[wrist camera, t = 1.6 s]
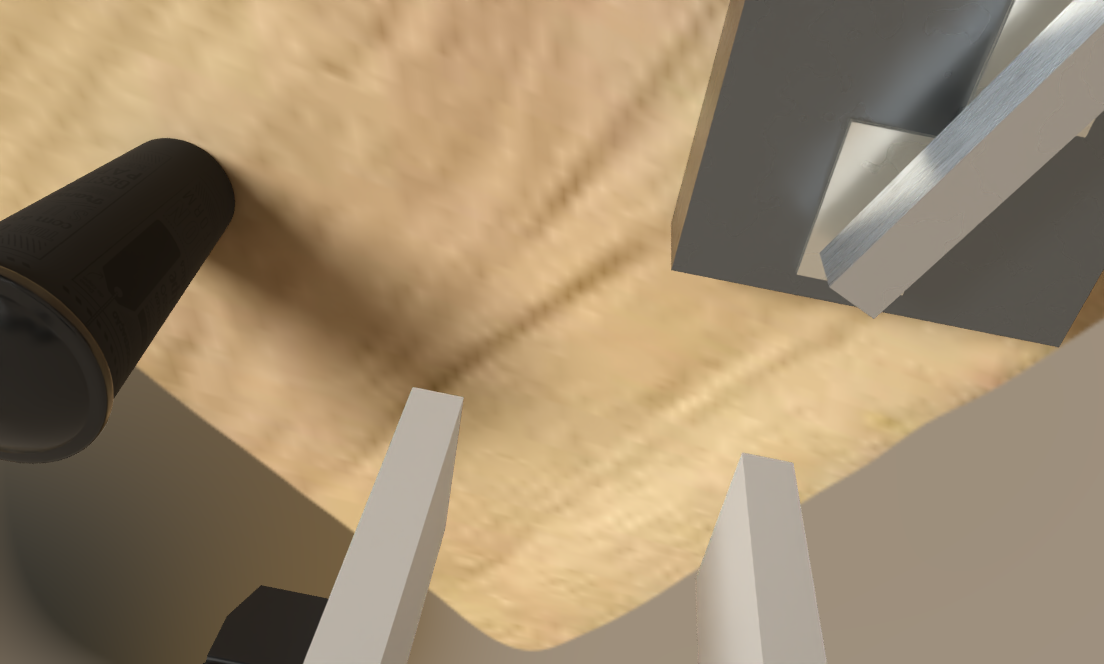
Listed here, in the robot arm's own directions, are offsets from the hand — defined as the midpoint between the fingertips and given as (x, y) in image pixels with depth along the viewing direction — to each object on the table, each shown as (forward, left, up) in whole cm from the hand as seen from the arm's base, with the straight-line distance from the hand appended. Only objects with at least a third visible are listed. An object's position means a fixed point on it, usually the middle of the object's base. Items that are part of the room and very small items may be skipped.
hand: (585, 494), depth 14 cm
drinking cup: (+10, -18, -25) cm, 32 cm away
